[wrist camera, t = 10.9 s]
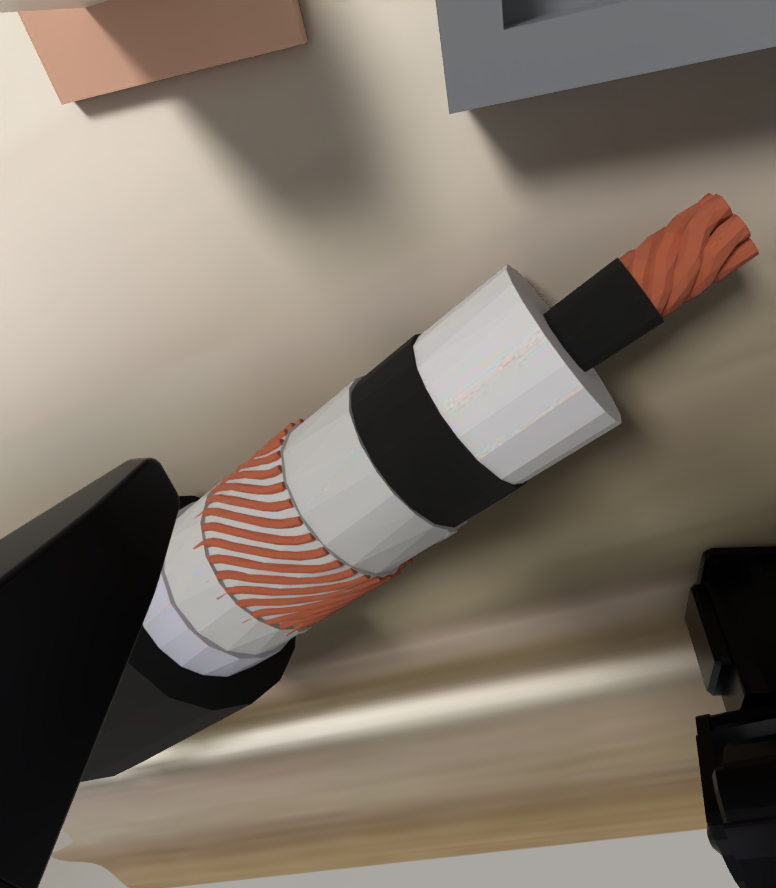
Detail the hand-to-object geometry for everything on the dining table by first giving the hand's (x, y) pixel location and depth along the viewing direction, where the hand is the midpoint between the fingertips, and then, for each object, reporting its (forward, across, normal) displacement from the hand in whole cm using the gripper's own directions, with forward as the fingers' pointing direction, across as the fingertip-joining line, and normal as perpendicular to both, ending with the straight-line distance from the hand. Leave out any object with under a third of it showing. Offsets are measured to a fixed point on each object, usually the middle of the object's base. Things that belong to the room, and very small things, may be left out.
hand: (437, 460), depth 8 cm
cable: (+13, +7, +10) cm, 18 cm away
